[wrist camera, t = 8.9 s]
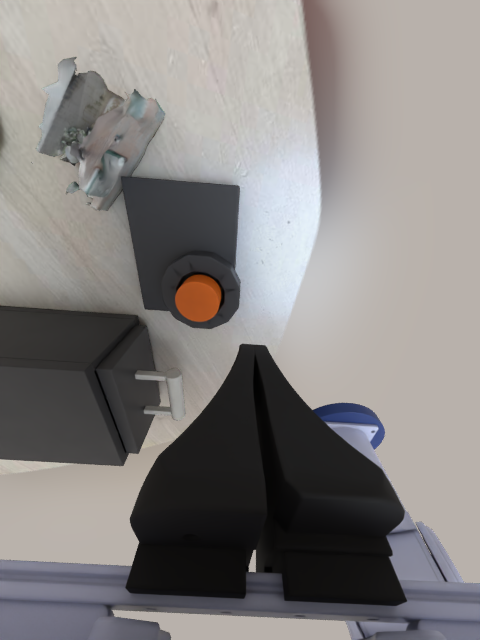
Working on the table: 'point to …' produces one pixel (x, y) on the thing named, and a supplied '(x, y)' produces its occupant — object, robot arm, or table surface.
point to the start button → (198, 298)
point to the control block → (184, 240)
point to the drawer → (137, 388)
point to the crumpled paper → (96, 131)
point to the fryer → (57, 386)
